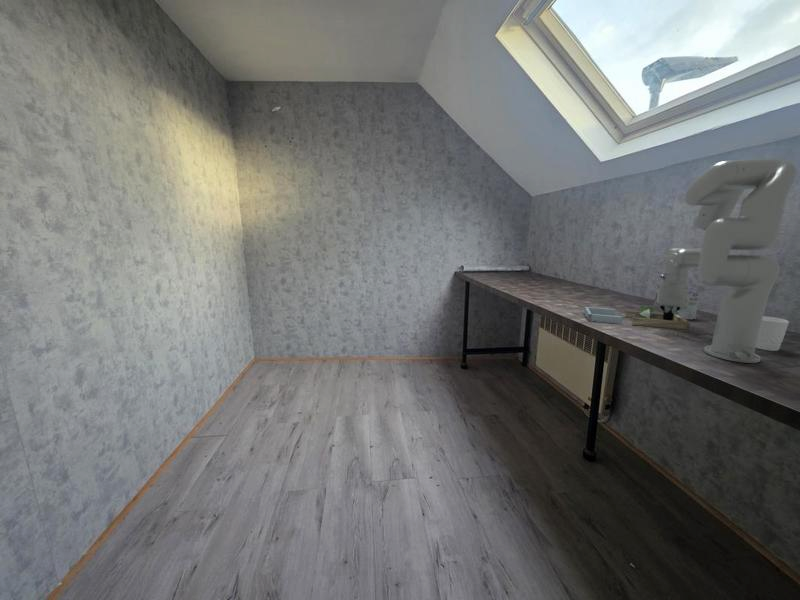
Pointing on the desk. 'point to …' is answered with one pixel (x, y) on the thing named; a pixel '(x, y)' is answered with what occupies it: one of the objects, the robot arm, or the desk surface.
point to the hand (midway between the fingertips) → (667, 321)
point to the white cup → (771, 333)
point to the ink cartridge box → (689, 306)
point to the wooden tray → (658, 321)
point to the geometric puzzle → (646, 312)
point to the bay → (602, 315)
